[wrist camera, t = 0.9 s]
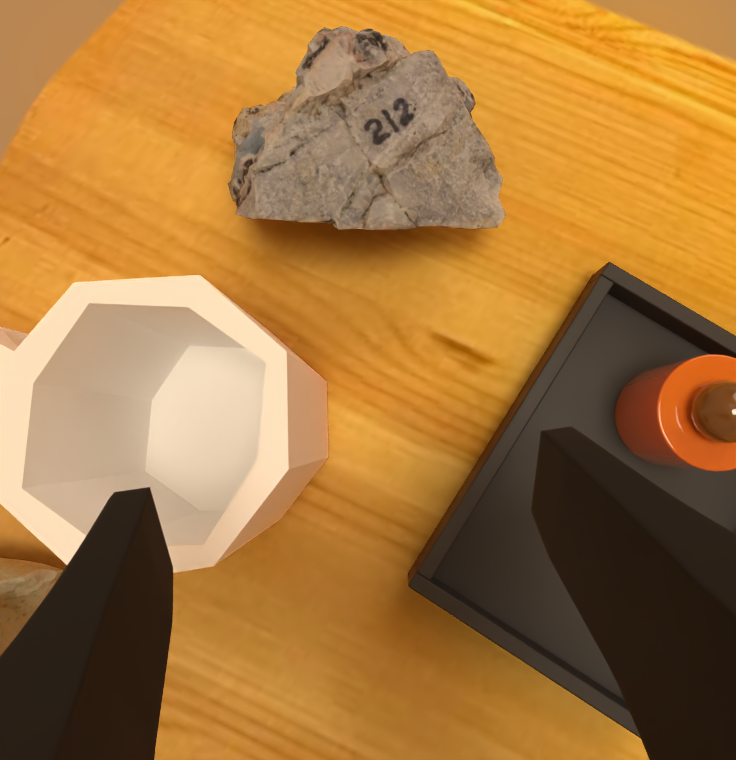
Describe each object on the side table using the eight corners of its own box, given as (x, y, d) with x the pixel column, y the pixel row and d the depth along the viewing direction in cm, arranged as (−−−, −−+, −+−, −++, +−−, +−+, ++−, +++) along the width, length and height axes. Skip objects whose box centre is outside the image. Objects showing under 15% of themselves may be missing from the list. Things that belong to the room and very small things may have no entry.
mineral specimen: (364, 159, 33) (314, 340, 30) (230, 45, 29) (151, 245, 25) (533, 73, 26) (493, 296, 23) (393, -97, 22) (314, 153, 18)
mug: (360, 360, 28) (338, 319, 18) (292, 564, 27) (232, 637, 17) (89, 272, 28) (-74, 187, 19) (18, 468, 28) (-188, 486, 18)
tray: (593, 274, 27) (609, 260, 25) (820, 408, 27) (856, 406, 24) (407, 574, 27) (407, 586, 25) (633, 722, 26) (653, 747, 24)
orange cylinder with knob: (733, 400, 26) (831, 390, 20) (682, 484, 26) (766, 499, 20) (646, 349, 26) (718, 323, 20) (595, 431, 26) (653, 430, 20)
